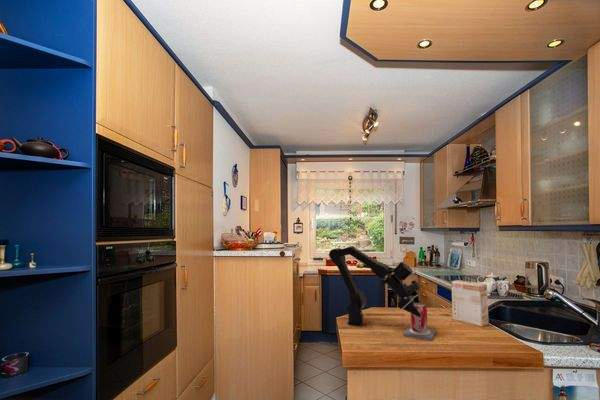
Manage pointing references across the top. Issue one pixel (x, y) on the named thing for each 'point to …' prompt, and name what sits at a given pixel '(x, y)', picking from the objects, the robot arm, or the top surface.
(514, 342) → the top surface
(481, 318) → the coffeecake box
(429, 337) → the dock pad
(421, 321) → the soda can
